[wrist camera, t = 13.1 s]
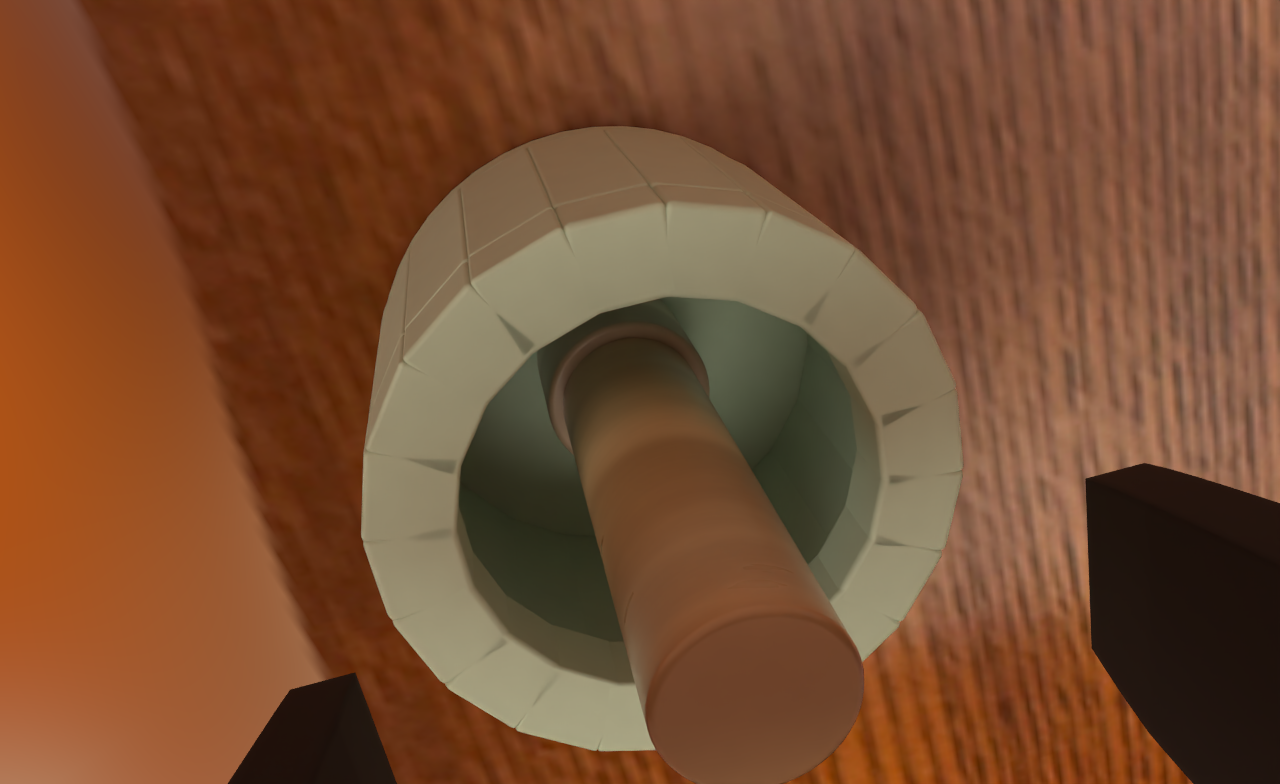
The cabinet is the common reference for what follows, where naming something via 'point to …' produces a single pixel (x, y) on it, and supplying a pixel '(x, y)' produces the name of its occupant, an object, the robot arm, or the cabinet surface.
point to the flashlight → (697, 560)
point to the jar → (547, 472)
